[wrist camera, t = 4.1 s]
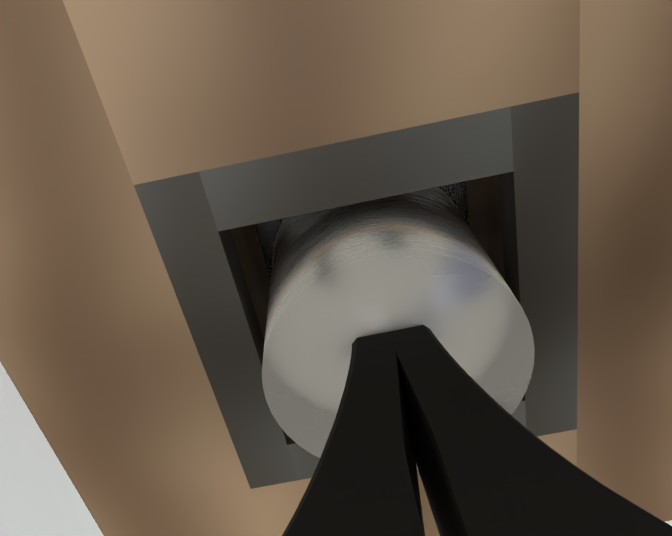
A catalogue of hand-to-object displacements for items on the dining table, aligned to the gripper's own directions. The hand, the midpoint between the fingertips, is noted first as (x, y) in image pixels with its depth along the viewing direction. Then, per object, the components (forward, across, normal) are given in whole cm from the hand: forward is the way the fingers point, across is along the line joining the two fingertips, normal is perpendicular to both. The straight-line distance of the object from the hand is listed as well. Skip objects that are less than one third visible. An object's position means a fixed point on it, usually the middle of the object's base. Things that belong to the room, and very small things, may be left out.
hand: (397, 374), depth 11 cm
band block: (+7, 0, 0) cm, 7 cm away
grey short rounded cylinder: (+4, 0, 0) cm, 4 cm away
